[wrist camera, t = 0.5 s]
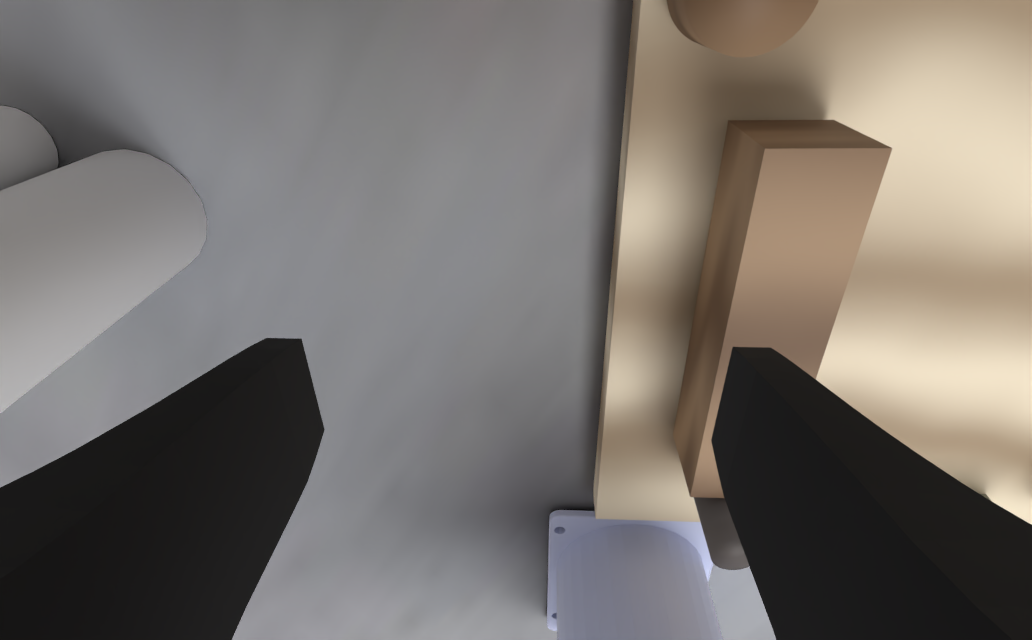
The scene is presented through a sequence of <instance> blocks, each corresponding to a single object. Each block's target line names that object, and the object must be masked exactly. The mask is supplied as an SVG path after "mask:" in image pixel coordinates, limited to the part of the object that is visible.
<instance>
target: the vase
mask: <svg viewBox="0 0 1032 640" xmlns="http://www.w3.org/2000/svg"><path fill="white" fill-rule="evenodd" d="M58 163H59V161H58V152H57V148H56V146H55V144H54V141H53V139H52V137H51V136H50V134H49V133H48V132H47V131H46V129H45V128H44V127H43V125H41V124H40V123H39V122H38V121H37V120H35V119H34V118H33V117H32V116H31V115H29V114H27V113H25V112H23V111H21V110H19V109H17V108H12V107H7V106H0V413H1V412H3V411H4V410H5V409H6V408H8V407H9V406H10V405H12V404H13V403H14V402H15V401H17V400H18V399H19V398H20V397H22V396H23V395H24V394H25V393H27V392H28V391H29V390H31V389H32V388H33V387H34V386H36V385H37V384H38V383H39V382H41V381H42V380H43V379H44V378H46V377H47V376H48V375H50V374H51V373H52V372H53V371H55V370H56V369H57V368H58V367H60V366H61V365H62V364H63V363H65V362H66V361H67V360H69V359H70V358H71V357H72V356H74V355H75V354H76V353H77V352H79V351H80V350H81V349H82V348H84V347H85V346H86V345H88V344H89V343H90V342H91V341H93V340H94V339H95V338H96V337H98V336H99V335H100V334H102V333H103V332H104V331H105V330H107V329H108V328H109V327H110V326H112V325H113V324H114V323H115V322H117V321H118V320H119V319H121V318H122V317H123V316H124V315H126V314H127V313H128V312H129V311H131V310H132V309H133V308H134V307H136V306H137V305H138V304H140V303H141V302H142V301H143V300H145V299H146V298H147V297H148V296H150V295H151V294H152V293H153V292H155V291H156V290H157V289H159V288H160V287H161V286H162V285H164V284H165V283H166V282H167V281H169V280H170V279H171V278H172V277H174V276H175V275H176V274H178V273H179V272H180V271H181V270H183V269H184V268H185V267H186V266H188V265H189V264H190V263H191V262H192V261H193V260H194V259H195V258H196V257H197V256H198V255H199V254H200V252H201V250H202V247H203V245H204V243H205V241H206V237H207V218H206V214H205V211H204V208H203V205H202V201H201V199H200V198H199V196H198V195H197V193H196V192H195V190H194V189H193V187H192V186H191V184H190V183H189V181H188V180H187V179H186V178H184V177H183V176H182V175H181V174H180V173H179V172H178V171H176V170H175V169H174V168H173V167H172V166H171V165H169V164H167V163H165V162H163V161H161V160H159V159H157V158H155V157H153V156H151V155H149V154H146V153H142V152H137V151H132V150H127V149H121V150H111V151H103V152H100V153H97V154H95V155H92V156H90V157H87V158H84V159H82V160H79V161H76V162H74V163H71V164H69V165H66V166H63V167H61V168H58V169H57V167H58Z"/></svg>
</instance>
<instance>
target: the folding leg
mask: <svg viewBox="0 0 1032 640" xmlns="http://www.w3.org/2000/svg"><path fill="white" fill-rule="evenodd" d="M891 151H892V148H891V147H889V146H887V145H885V144H883V143H881V142H879V141H877V140H875V139H872V138H870V137H868V136H866V135H864V134H862V133H860V132H858V131H856V130H854V129H852V128H850V127H848V126H846V125H844V124H842V123H839V122H837V121H835V120H728V125H727V131H726V136H725V142H724V148H723V153H722V159H721V165H720V170H719V176H718V182H717V187H716V193H715V199H714V204H713V210H712V216H711V222H710V227H709V233H708V239H707V244H706V250H705V256H704V261H703V267H702V273H701V278H700V284H699V290H698V295H697V301H696V307H695V312H694V318H693V324H692V329H691V335H690V341H689V346H688V352H687V358H686V364H685V369H684V375H683V381H682V386H681V392H680V398H679V403H678V409H677V415H676V420H675V426H674V432H673V437H674V440H675V444H676V448H677V451H678V455H679V458H680V462H681V466H682V469H683V473H684V477H685V480H686V484H687V487H688V491H689V495H690V497H702V498H724V495H723V491H722V487H721V483H720V479H719V474H718V470H717V466H716V461H715V456H714V451H713V447H712V442H711V439H712V434H713V430H714V426H715V421H716V417H717V413H718V408H719V404H720V400H721V395H722V391H723V387H724V382H725V378H726V374H727V369H728V365H729V361H730V356H731V352H732V348H733V347H770V348H772V349H774V350H775V351H777V352H779V353H780V354H782V355H783V356H784V357H786V358H787V359H789V360H790V361H791V362H793V363H794V364H796V365H797V366H798V367H800V368H801V369H802V370H804V371H805V372H806V373H808V374H809V375H810V376H812V377H813V378H814V379H816V377H817V374H818V371H819V368H820V365H821V362H822V359H823V356H824V353H825V350H826V347H827V344H828V341H829V338H830V335H831V332H832V329H833V326H834V323H835V320H836V317H837V314H838V311H839V308H840V305H841V302H842V299H843V296H844V293H845V290H846V287H847V284H848V281H849V278H850V275H851V272H852V269H853V266H854V263H855V260H856V257H857V254H858V251H859V248H860V245H861V242H862V239H863V236H864V233H865V229H866V226H867V223H868V220H869V217H870V214H871V211H872V208H873V205H874V202H875V199H876V196H877V193H878V190H879V187H880V184H881V181H882V178H883V175H884V172H885V169H886V166H887V163H888V160H889V157H890V154H891Z"/></svg>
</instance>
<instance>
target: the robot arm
mask: <svg viewBox="0 0 1032 640" xmlns="http://www.w3.org/2000/svg"><path fill="white" fill-rule="evenodd" d="M323 433H324V426H323V422H322V418H321V414H320V411H319V407H318V403H317V399H316V395H315V391H314V387H313V383H312V379H311V375H310V371H309V367H308V363H307V359H306V355H305V351H304V347H303V343H302V339H285V338H266V339H264V340H262V341H260V342H258V343H256V344H254V345H252V346H250V347H248V348H247V349H245V350H243V351H241V352H240V353H238V354H236V355H235V356H233V357H231V358H230V359H228V360H226V361H225V362H223V363H221V364H220V365H218V366H216V367H215V368H213V369H212V370H210V371H208V372H207V373H205V374H203V375H202V376H200V377H199V378H197V379H195V380H194V381H192V382H190V383H189V384H187V385H185V386H184V387H182V388H181V389H179V390H177V391H176V392H174V393H172V394H171V395H169V396H167V397H166V398H164V399H163V400H161V401H159V402H158V403H156V404H154V405H153V406H151V407H149V408H148V409H146V410H144V411H142V412H141V413H139V414H137V415H135V416H134V417H132V418H130V419H128V420H127V421H125V422H123V423H121V424H120V425H118V426H116V427H114V428H113V429H111V430H109V431H107V432H106V433H104V434H102V435H100V436H99V437H97V438H95V439H93V440H92V441H90V442H88V443H86V444H85V445H83V446H81V447H79V448H77V449H76V450H74V451H72V452H70V453H68V454H66V455H64V456H62V457H61V458H59V459H57V460H55V461H53V462H51V463H49V464H47V465H45V466H43V467H41V468H39V469H37V470H35V471H34V472H32V473H29V474H27V475H25V476H23V477H21V478H19V479H17V480H15V481H13V482H11V483H9V484H7V485H5V486H3V487H1V488H0V640H232V638H233V635H234V633H235V631H236V628H237V626H238V624H239V622H240V619H241V617H242V615H243V613H244V611H245V608H246V606H247V604H248V602H249V600H250V598H251V596H252V594H253V592H254V590H255V588H256V586H257V584H258V582H259V580H260V578H261V576H262V574H263V572H264V570H265V568H266V566H267V564H268V562H269V560H270V558H271V556H272V554H273V552H274V550H275V548H276V545H277V543H278V541H279V539H280V537H281V535H282V533H283V531H284V529H285V527H286V525H287V523H288V521H289V519H290V517H291V515H292V513H293V511H294V509H295V507H296V505H297V503H298V501H299V498H300V496H301V494H302V492H303V490H304V488H305V486H306V484H307V481H308V478H309V476H310V473H311V470H312V467H313V464H314V461H315V458H316V455H317V452H318V449H319V446H320V442H321V439H322V436H323ZM711 442H712V447H713V451H714V456H715V461H716V466H717V470H718V474H719V479H720V483H721V487H722V491H723V495H724V498H725V501H726V504H727V506H728V509H729V512H730V515H731V518H732V520H733V523H734V526H735V528H736V531H737V534H738V537H739V539H740V542H741V545H742V547H743V550H744V553H745V555H746V558H747V561H748V563H749V566H750V569H751V571H752V574H753V577H754V579H755V582H756V585H757V587H758V590H759V593H760V595H761V598H762V601H763V603H764V606H765V609H766V612H767V614H768V617H769V620H770V622H771V625H772V628H773V630H774V633H775V636H776V640H1032V525H1031V524H1030V523H1028V522H1026V521H1024V520H1023V519H1021V518H1019V517H1018V516H1016V515H1014V514H1012V513H1011V512H1009V511H1007V510H1006V509H1004V508H1002V507H1000V506H999V505H997V504H995V503H994V502H992V501H990V500H989V499H987V498H985V497H984V496H982V495H981V494H979V493H977V492H976V491H974V490H973V489H971V488H969V487H968V486H966V485H965V484H963V483H961V482H960V481H958V480H957V479H955V478H954V477H952V476H951V475H949V474H948V473H946V472H945V471H943V470H942V469H940V468H939V467H937V466H936V465H934V464H933V463H931V462H930V461H928V460H927V459H925V458H924V457H922V456H921V455H919V454H918V453H916V452H915V451H913V450H912V449H910V448H909V447H907V446H906V445H905V444H903V443H902V442H900V441H899V440H897V439H896V438H895V437H893V436H892V435H890V434H889V433H887V432H886V431H885V430H883V429H882V428H880V427H879V426H878V425H876V424H875V423H873V422H872V421H871V420H869V419H868V418H867V417H865V416H864V415H863V414H861V413H860V412H858V411H857V410H856V409H854V408H853V407H852V406H850V405H849V404H848V403H846V402H845V401H844V400H842V399H841V398H840V397H838V396H837V395H836V394H834V393H833V392H832V391H830V390H829V389H828V388H826V387H825V386H824V385H822V384H821V383H820V382H818V381H817V380H816V379H814V378H813V377H812V376H810V375H809V374H808V373H806V372H805V371H804V370H802V369H801V368H800V367H798V366H797V365H796V364H794V363H793V362H791V361H790V360H789V359H787V358H786V357H784V356H783V355H782V354H780V353H779V352H777V351H775V350H774V349H772V348H770V347H733V348H732V352H731V356H730V361H729V365H728V369H727V374H726V378H725V382H724V387H723V391H722V395H721V400H720V404H719V408H718V413H717V417H716V421H715V426H714V430H713V434H712V439H711ZM712 567H713V562H712V560H711V557H710V554H709V550H708V547H707V543H706V540H705V536H704V533H703V529H702V525H701V522H682V521H649V520H615V519H596V518H595V511H579V510H556V511H554V512H552V513H551V514H550V516H549V549H548V594H547V627H548V628H549V629H550V630H553V631H557V640H723V637H722V634H721V630H720V626H719V622H718V619H717V615H716V611H715V607H714V604H713V600H712V596H711V592H710V588H709V585H708V581H709V578H710V574H711V570H712Z"/></svg>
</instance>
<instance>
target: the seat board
mask: <svg viewBox="0 0 1032 640" xmlns="http://www.w3.org/2000/svg"><path fill="white" fill-rule="evenodd" d="M728 120H835V121H837V122H839V123H842V124H844V125H846V126H848V127H850V128H852V129H854V130H856V131H858V132H860V133H862V134H864V135H866V136H868V137H870V138H872V139H875V140H877V141H879V142H881V143H883V144H885V145H887V146H889V147H891V148H892V151H891V154H890V157H889V160H888V163H887V166H886V169H885V172H884V175H883V178H882V181H881V184H880V187H879V190H878V193H877V196H876V199H875V202H874V205H873V208H872V211H871V214H870V217H869V220H868V223H867V226H866V229H865V233H864V236H863V239H862V242H861V245H860V248H859V251H858V254H857V257H856V260H855V263H854V266H853V269H852V272H851V275H850V278H849V281H848V284H847V287H846V290H845V293H844V296H843V299H842V302H841V305H840V308H839V311H838V314H837V317H836V320H835V323H834V326H833V329H832V332H831V335H830V338H829V341H828V344H827V347H826V350H825V353H824V356H823V359H822V362H821V365H820V368H819V371H818V374H817V377H816V380H817V381H818V382H820V383H821V384H822V385H824V386H825V387H826V388H828V389H829V390H830V391H832V392H833V393H834V394H836V395H837V396H838V397H840V398H841V399H842V400H844V401H845V402H846V403H848V404H849V405H850V406H852V407H853V408H854V409H856V410H857V411H858V412H860V413H861V414H863V415H864V416H865V417H867V418H868V419H869V420H871V421H872V422H873V423H875V424H876V425H878V426H879V427H880V428H882V429H883V430H885V431H886V432H887V433H889V434H890V435H892V436H893V437H895V438H896V439H897V440H899V441H900V442H902V443H903V444H905V445H906V446H907V447H909V448H910V449H912V450H913V451H915V452H916V453H918V454H919V455H921V456H922V457H924V458H925V459H927V460H928V461H930V462H931V463H933V464H934V465H936V466H937V467H939V468H940V469H942V470H943V471H945V472H946V473H948V474H949V475H951V476H952V477H954V478H955V479H957V480H958V481H960V482H961V483H963V484H965V485H966V486H968V487H969V488H971V489H973V490H974V491H976V492H977V493H979V494H981V495H982V496H984V497H985V498H987V499H989V500H990V501H992V502H994V503H995V504H997V505H999V506H1000V507H1002V508H1004V509H1006V510H1007V511H1009V512H1011V513H1012V514H1014V515H1016V516H1018V517H1019V518H1021V519H1023V520H1024V521H1026V522H1028V523H1030V524H1031V525H1032V0H633V9H632V22H631V34H630V46H629V59H628V71H627V83H626V95H625V108H624V120H623V132H622V145H621V157H620V169H619V181H618V194H617V206H616V218H615V230H614V243H613V255H612V267H611V280H610V292H609V304H608V316H607V329H606V341H605V353H604V365H603V378H602V390H601V402H600V415H599V427H598V439H597V451H596V464H595V476H594V488H593V495H594V507H595V518H596V519H615V520H649V521H682V522H701V525H702V529H703V533H704V536H705V540H706V543H707V547H708V550H709V554H710V557H711V560H712V562H713V563H714V564H715V565H716V566H718V567H720V568H722V569H727V570H738V569H743V568H746V567H749V563H748V561H747V558H746V555H745V553H744V550H743V547H742V545H741V542H740V539H739V537H738V534H737V531H736V528H735V526H734V523H733V520H732V518H731V515H730V512H729V509H728V506H727V504H726V501H725V498H702V497H690V495H689V491H688V487H687V484H686V480H685V477H684V473H683V469H682V466H681V462H680V458H679V455H678V451H677V448H676V444H675V440H674V437H673V432H674V426H675V420H676V415H677V409H678V403H679V398H680V392H681V386H682V381H683V375H684V369H685V364H686V358H687V352H688V346H689V341H690V335H691V329H692V324H693V318H694V312H695V307H696V301H697V295H698V290H699V284H700V278H701V273H702V267H703V261H704V256H705V250H706V244H707V239H708V233H709V227H710V222H711V216H712V210H713V204H714V199H715V193H716V187H717V182H718V176H719V170H720V165H721V159H722V153H723V148H724V142H725V136H726V131H727V125H728Z"/></svg>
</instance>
